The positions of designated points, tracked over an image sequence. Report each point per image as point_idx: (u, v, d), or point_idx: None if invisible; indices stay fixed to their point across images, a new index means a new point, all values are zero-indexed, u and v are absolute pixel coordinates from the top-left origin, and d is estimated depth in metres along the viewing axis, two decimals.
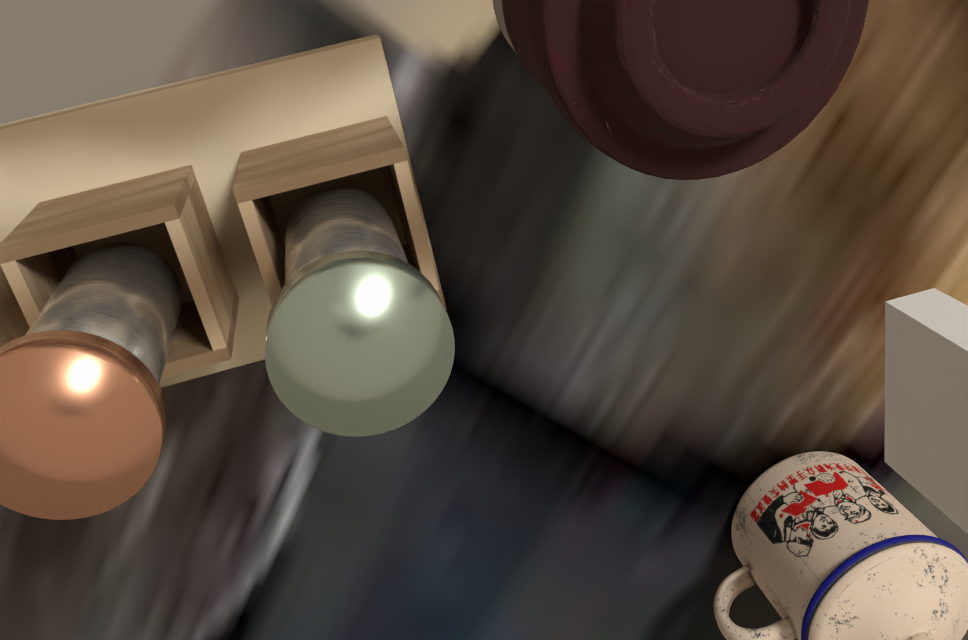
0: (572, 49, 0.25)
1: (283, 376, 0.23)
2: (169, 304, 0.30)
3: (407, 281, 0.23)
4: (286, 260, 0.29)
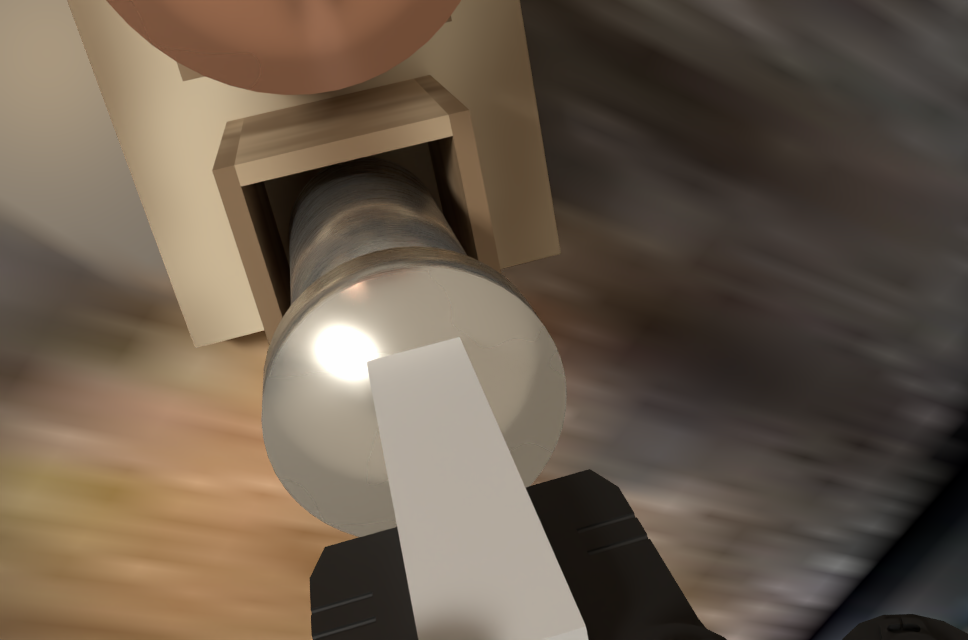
0: None
1: None
2: None
3: None
4: None
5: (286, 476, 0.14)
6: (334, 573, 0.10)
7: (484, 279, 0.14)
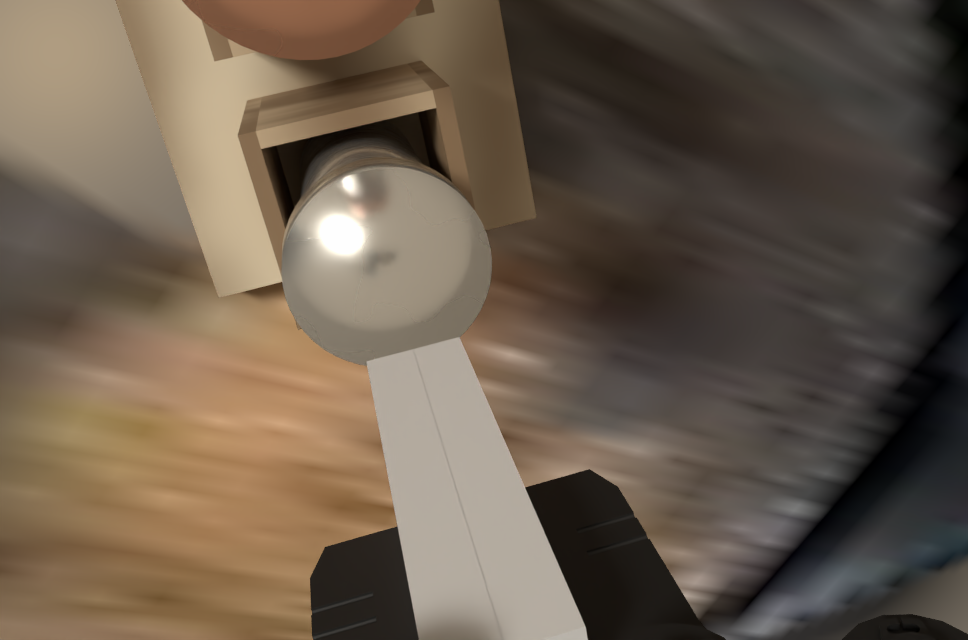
0: None
1: None
2: None
3: None
4: None
5: (298, 313, 0.21)
6: (335, 572, 0.10)
7: (432, 176, 0.21)
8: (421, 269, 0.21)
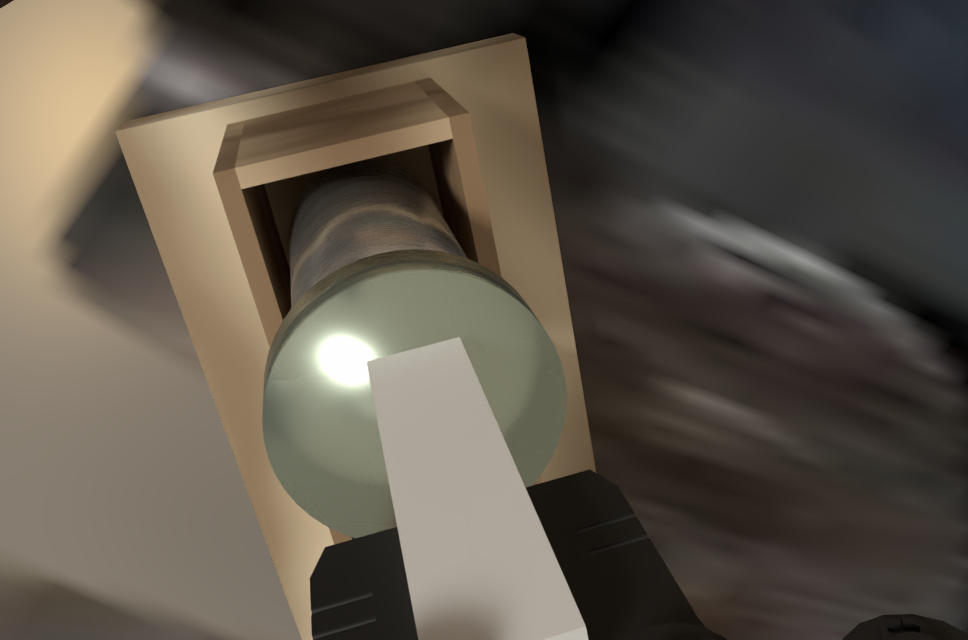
0: None
1: None
2: None
3: (291, 355, 0.14)
4: None
5: None
6: (335, 573, 0.10)
7: None
8: None
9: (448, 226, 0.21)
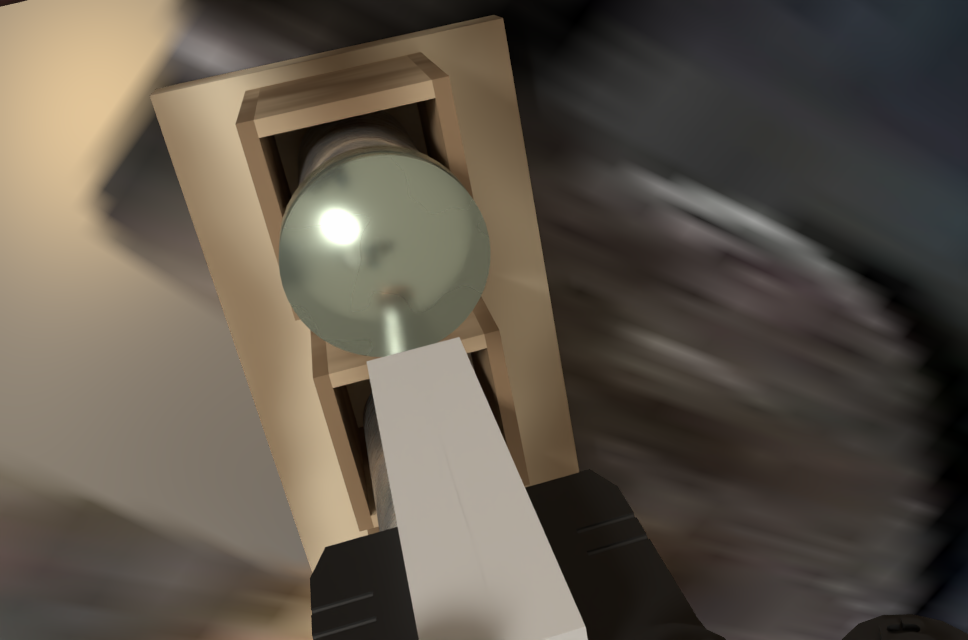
0: None
1: (407, 339, 0.22)
2: None
3: (299, 211, 0.20)
4: None
5: None
6: (335, 572, 0.10)
7: None
8: None
9: None
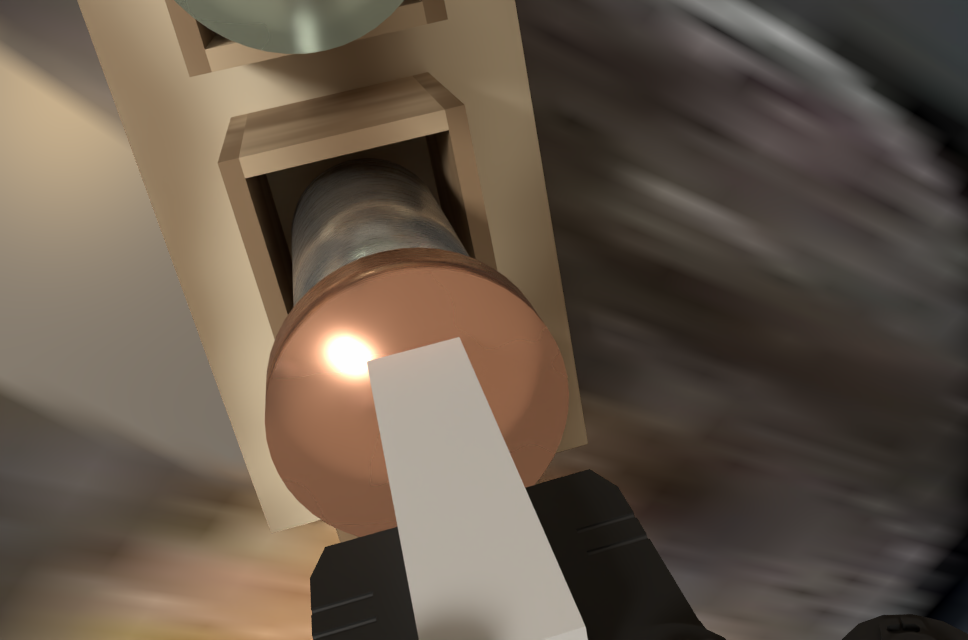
0: None
1: (320, 28, 0.15)
2: (352, 186, 0.21)
3: None
4: None
5: None
6: (335, 573, 0.10)
7: None
8: None
9: None
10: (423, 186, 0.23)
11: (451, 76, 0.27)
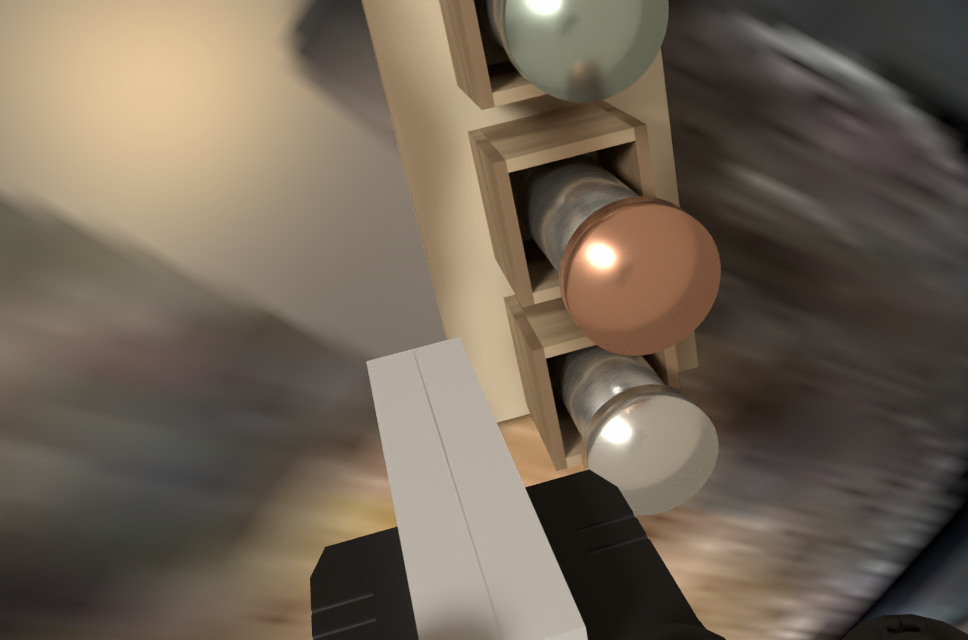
0: None
1: (599, 88, 0.27)
2: (568, 167, 0.34)
3: None
4: None
5: None
6: (335, 573, 0.10)
7: (686, 401, 0.33)
8: (674, 456, 0.33)
9: None
10: None
11: (615, 101, 0.39)
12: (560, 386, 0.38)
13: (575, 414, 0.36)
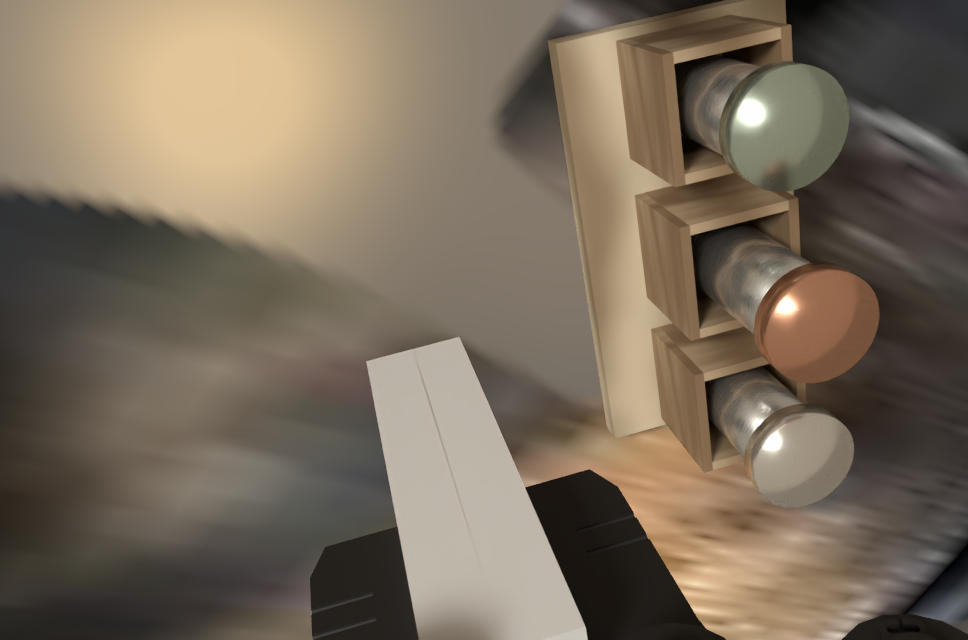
0: None
1: (793, 181, 0.36)
2: (734, 230, 0.43)
3: (749, 97, 0.34)
4: None
5: (759, 483, 0.42)
6: (335, 573, 0.10)
7: (832, 417, 0.41)
8: (820, 460, 0.42)
9: None
10: None
11: None
12: (709, 403, 0.47)
13: (729, 426, 0.45)
